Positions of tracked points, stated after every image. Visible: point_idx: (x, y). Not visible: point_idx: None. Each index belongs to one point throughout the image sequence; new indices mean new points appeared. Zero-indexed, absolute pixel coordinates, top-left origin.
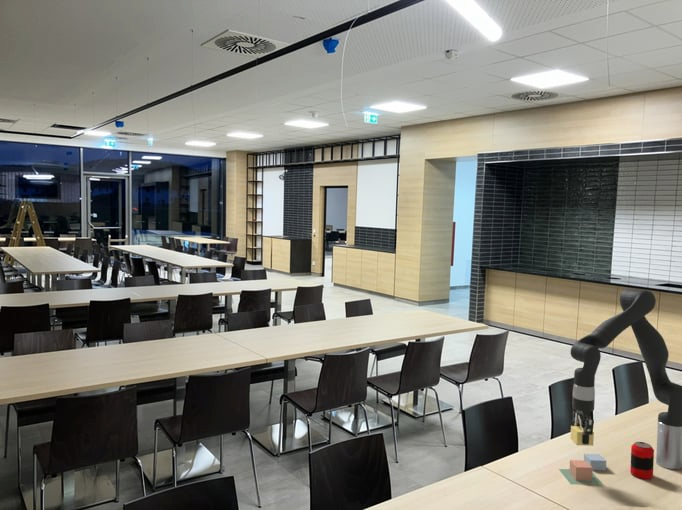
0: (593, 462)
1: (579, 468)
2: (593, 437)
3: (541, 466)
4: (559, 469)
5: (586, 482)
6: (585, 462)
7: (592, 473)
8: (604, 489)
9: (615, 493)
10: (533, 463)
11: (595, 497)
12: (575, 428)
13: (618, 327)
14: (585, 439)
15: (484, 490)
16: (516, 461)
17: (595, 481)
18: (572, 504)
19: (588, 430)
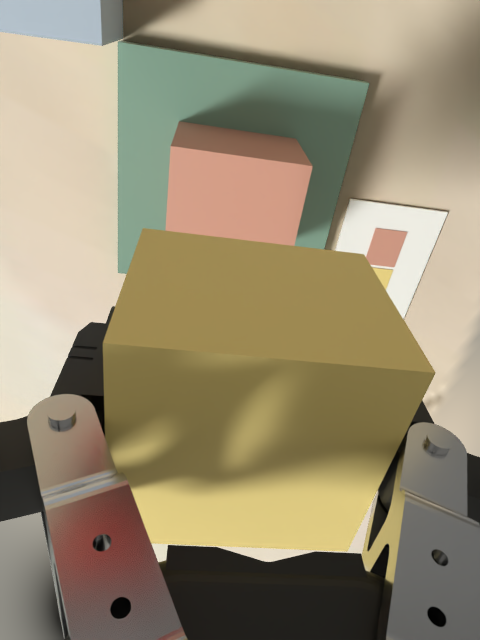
0: (104, 11)
1: None
2: (400, 318)
3: (60, 327)
4: (124, 271)
5: (311, 192)
6: (210, 173)
7: (182, 60)
8: (384, 91)
9: (455, 40)
10: (25, 351)
11: (450, 213)
12: (214, 529)
13: None
14: None
15: (283, 555)
16: (15, 414)
17: (309, 118)
18: (463, 352)
19: (442, 494)
